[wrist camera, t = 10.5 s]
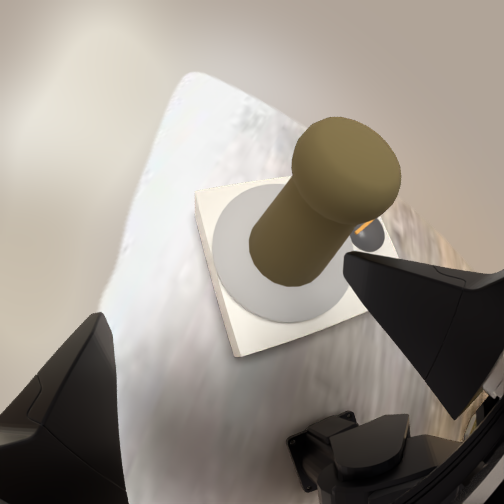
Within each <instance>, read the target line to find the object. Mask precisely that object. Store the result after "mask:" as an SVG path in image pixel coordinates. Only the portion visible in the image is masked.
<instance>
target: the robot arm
mask: <svg viewBox="0 0 504 504" xmlns="http://www.w3.org/2000/svg"><path fill="white" fill-rule="evenodd" d="M343 276H344V278H345V280H346V281H347V282H348V284H349V285H350V287H351V288H352V289H353V291H354V292H355V294H356V295H357V297H358V298H359V300H360V301H361V302H362V304H363V305H364V306H365V308H366V309H367V310H368V311H369V312H370V313H371V315H372V316H373V317H374V318H375V319H376V321H377V322H378V323H379V324H380V325H381V327H382V328H383V329H384V330H385V331H386V333H387V334H388V335H389V336H390V338H391V339H392V340H393V341H394V342H395V344H396V345H397V346H398V347H399V349H400V350H401V351H402V352H403V354H404V355H405V356H406V357H407V359H408V360H409V361H410V362H411V364H412V365H413V366H414V368H415V369H416V370H417V371H418V373H419V374H420V375H421V377H422V378H423V379H424V380H425V382H426V383H427V385H428V386H429V387H430V389H431V390H432V391H433V393H434V394H435V395H436V397H437V398H438V399H439V401H440V402H441V403H442V405H443V406H444V407H445V409H446V410H447V412H448V413H449V414H450V416H451V417H452V418H453V419H454V420H456V419H457V418H458V417H459V416H460V415H461V414H462V413H463V412H464V411H465V410H466V409H467V408H468V406H469V405H470V404H471V403H472V402H473V401H474V400H475V399H476V398H477V397H478V396H479V394H480V393H481V392H482V391H483V390H484V391H485V392H486V393H487V394H488V395H489V396H488V397H487V398H486V400H485V401H484V402H483V403H482V405H481V406H480V407H479V408H478V410H477V411H476V429H475V430H474V431H473V432H472V433H471V434H470V435H469V437H468V438H467V439H466V440H465V441H464V442H463V443H461V442H456V441H452V440H447V439H443V438H439V437H435V436H431V435H420V436H415V437H410V424H409V415H408V414H397V415H384V416H381V417H379V418H377V419H375V420H372V421H370V422H368V423H365V424H363V425H361V426H359V425H358V423H357V422H356V419H355V415H354V413H353V412H351V411H346V412H344V413H342V414H340V415H338V416H331V417H329V418H326V419H324V420H322V421H320V422H318V423H316V424H313V425H311V426H309V427H308V428H307V430H305V431H303V432H300V433H298V434H296V435H293V436H291V437H289V438H288V439H287V441H286V444H287V447H288V449H289V452H290V455H291V458H292V461H293V463H294V466H295V469H296V472H297V474H298V477H299V480H300V483H301V485H302V488H303V490H304V491H305V492H307V493H309V492H312V491H314V490H317V489H318V495H319V503H320V504H504V269H503V270H502V271H499V272H497V273H494V274H483V273H477V272H470V271H463V270H457V269H451V268H445V267H440V266H435V265H429V264H424V263H419V262H414V261H408V260H403V259H398V258H392V257H387V256H381V255H376V254H370V253H365V252H359V251H351V252H347V253H345V255H344V261H343ZM349 414H350V417H349V418H347V416H348V415H349ZM292 440H295V442H294V443H293V444H290V442H291V441H292ZM309 486H311V487H310V488H309V489H307V487H309ZM0 504H129V502H128V497H127V492H126V487H125V481H124V474H123V467H122V459H121V451H120V441H119V428H118V412H117V377H116V365H115V356H114V345H113V335H112V332H111V329H110V327H109V325H108V323H107V320H106V318H105V316H104V314H103V313H102V312H98V313H93V314H91V315H90V316H89V317H88V318H87V319H86V320H85V321H84V322H83V323H82V324H81V325H80V326H79V327H78V328H77V329H76V330H75V332H74V333H73V334H72V335H71V336H70V337H69V338H68V339H67V340H66V341H65V342H64V343H63V345H62V346H61V347H60V348H59V349H58V350H57V351H56V352H55V354H54V355H53V356H52V357H51V358H50V359H49V360H48V361H47V362H46V364H45V365H44V366H43V367H42V368H41V369H40V371H39V372H38V373H37V375H35V376H34V378H33V379H32V380H31V381H30V383H29V384H28V385H27V386H26V387H25V388H24V389H23V391H22V392H21V393H20V394H19V395H18V396H17V397H16V398H15V399H14V400H13V401H12V403H11V404H10V405H9V406H8V407H7V408H6V409H5V410H4V411H3V412H2V413H1V414H0Z"/></svg>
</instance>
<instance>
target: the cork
mask: <svg viewBox="0 0 504 504" xmlns="http://www.w3.org/2000/svg"><path fill="white" fill-rule="evenodd" d="M291 168H292V174H293V176H292V177H291V178H290V180H289V181H288V182H287V183H286V185H285V186H284V187H283V189H282V190H281V191H280V193H279V194H278V195H277V196H276V198H275V199H274V200H273V202H272V203H271V204H270V206H269V207H268V208H267V210H266V211H265V212H264V213H263V215H262V216H261V217H260V219H259V220H258V221H257V223H256V224H255V225H254V227H253V228H252V230H251V234H250V237H249V253H250V255H251V258H252V261H253V263H254V265H255V266H256V268H257V269H258V270H259V271H260V272H261V274H262V275H263V276H265V277H266V278H268V279H269V280H271V281H272V282H273V283H276V284H279V285H283V286H286V287H300V286H303V285H305V284H308V283H311V282H312V281H313V280H314V279H316V278H317V277H318V276H319V275H320V274H321V273H322V271H323V270H324V269H325V268H326V266H327V265H328V264H329V262H330V261H331V260H332V258H333V257H334V256H335V254H336V253H337V252H338V250H339V249H340V248H341V246H342V245H343V244H344V242H345V241H346V240H347V238H348V237H349V235H350V234H351V233H352V231H353V230H354V228H355V227H356V226H357V225H359V224H362V223H366V222H369V221H371V220H374V219H377V218H378V217H379V216H380V215H382V214H383V213H384V212H385V211H386V210H387V209H388V208H389V207H390V206H391V205H392V204H393V203H394V201H395V199H396V197H397V195H398V192H399V189H400V185H401V170H400V165H399V162H398V160H397V157H396V155H395V154H394V152H393V151H392V149H391V148H390V146H389V145H388V144H387V142H386V141H385V140H383V138H382V137H381V136H380V135H379V134H377V133H376V132H375V131H373V130H372V129H371V128H369V127H367V126H366V125H363V124H362V123H359V122H357V121H355V120H352V119H347V118H343V117H329V118H326V119H323V120H321V121H318V122H316V123H314V124H312V125H311V126H310V127H309V128H308V129H307V130H306V131H305V132H304V133H303V135H302V136H301V137H300V138H299V139H298V141H297V144H296V146H295V149H294V153H293V157H292V167H291Z"/></svg>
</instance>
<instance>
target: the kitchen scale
mask: <svg viewBox="0 0 504 504" xmlns="http://www.w3.org/2000/svg"><path fill="white" fill-rule="evenodd" d="M291 177H292V176H288V177H281V178H273V179H266V180H259V181H252V182H245V183H239V184H232V185H226V186H220V187H215V188H209V189H203V190H198V191H195V218H196V222H197V226H198V230H199V234H200V238H201V242H202V245H203V249H204V253H205V257H206V261H207V264H208V268H209V272H210V276H211V279H212V283H213V286H214V290H215V294H216V297H217V301H218V304H219V308H220V311H221V315H222V318H223V321H224V325H225V328H226V331H227V335H228V338H229V341H230V345H231V348H232V351H233V354H234V357H242V356H245V355H249V354H252V353H255V352H258V351H262V350H265V349H268V348H271V347H274V346H277V345H280V344H283V343H286V342H289V341H292V340H295V339H297V338H300V337H303V336H306V335H309V334H311V333H314V332H317V331H319V330H322V329H325V328H327V327H330V326H332V325H335V324H337V323H340V322H342V321H345V320H347V319H350V318H352V317H355V316H357V315H359V314H362V313H364V312H366V311H368V310H367V309H366V308H365V306H364V305H363V304H362V302H361V301H360V300H359V298H358V297H357V295H356V294H355V292H354V291H353V289H352V288H351V287H350V285H349V284H348V282H347V281H346V280H345V278H344V276H343V261H344V255H345V253H347V252H351V251H359V252H365V253H370V254H376V255H381V256H387V257H392V258H398V259H399V257H398V255H397V252H396V250H395V248H394V245H393V243H392V241H391V239H390V236H389V234H388V232H387V230H386V228H385V225H384V223H383V221H382V219H381V217H380V216H379V217H378V218H377V219H374V220H371V221H369V222H366V223H362V224H359V225H357V226H356V227H355V228H354V230H353V231H352V233H351V234H350V235H349V237H348V238H347V240H346V241H345V242H344V244H343V245H342V246H341V248H340V249H339V250H338V252H337V253H336V254H335V256H334V257H333V258H332V260H331V261H330V262H329V264H328V265H327V266H326V268H325V269H324V270H323V271H322V273H321V274H320V275H319V276H318V277H317V278H316V279H314V280H313V281H312V282H311V283H308V284H305V285H303V286H300V287H286V286H283V285H279V284H276V283H273V282H272V281H271V280H269V279H268V278H266V277H265V276H263V275H262V274H261V272H260V271H259V270H258V269H257V268H256V266H255V265H254V263H253V261H252V258H251V255H250V253H249V237H250V234H251V230H252V228H253V227H254V225H255V224H256V223H257V221H258V220H259V219H260V217H261V216H262V215H263V213H264V212H265V211H266V210H267V208H268V207H269V206H270V204H271V203H272V202H273V200H274V199H275V198H276V196H277V195H278V194H279V193H280V191H281V190H282V189H283V187H284V186H285V185H286V183H287V182H288V181H289V180H290V178H291Z"/></svg>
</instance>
